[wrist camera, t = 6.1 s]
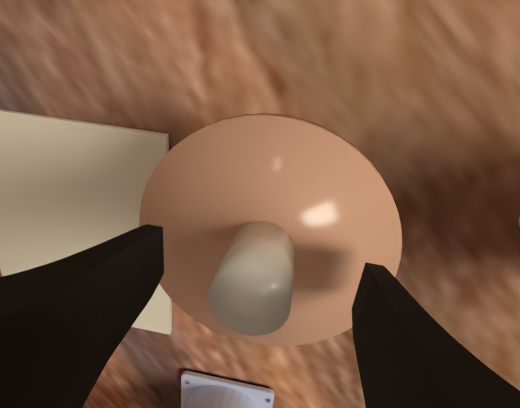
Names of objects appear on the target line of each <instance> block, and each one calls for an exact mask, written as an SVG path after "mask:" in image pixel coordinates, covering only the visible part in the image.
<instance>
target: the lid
mask: <svg viewBox="0 0 520 408" xmlns="http://www.w3.org/2000/svg"><path fill="white" fill-rule="evenodd" d="M146 224H149V225H155V226H161V227H163V247H164V274H163V276H162V278H161V280H160V283H159V284H160V285H161V287H162V288H163V290H164V291H165V292H166V293H167V295H168V296H169V297H170V298H171V299H172V300H173V301H174V302H175V303H176V304H177V305H178V306H179V307H180V308H181V309H182V310H183V311H184V312H186V313H187V314H188V315H190V316H191V317H192V318H194V319H195V320H196V321H198V322H200V323H201V324H203V325H205V326H206V327H208V328H210V329H212V330H214V331H216V332H218V333H221V334H223V335H226V336H228V337H231V338H234V339H237V340H241V341H244V342H248V343H253V344H259V345H268V346H296V345H303V344H310V343H314V342H318V341H322V340H325V339H328V338H331V337H333V336H336V335H338V334H340V333H342V332H344V331H346V330H348V329H350V328H351V327H352V305H353V302H354V299H355V296H356V292H357V289H358V286H359V282H360V279H361V276H362V272H363V269H364V266H365V262H366V263H372V264H378V265H383V266H385V267H386V268H387V269H388V270H389V271H390V272H391V274H392V275H393V276H394V277H395V276H396V274H397V270H398V267H399V263H400V259H401V251H402V228H401V223H400V218H399V214H398V210H397V207H396V205H395V202H394V200H393V197H392V195H391V193H390V191H389V189H388V187H387V186H386V184H385V182H384V180H383V179H382V177H381V175H380V174H379V172H378V171H377V170H376V168H375V167H374V166H373V165H372V163H371V162H370V161H369V159H368V158H367V157H366V156H365V155H363V154H362V153H361V152H360V151H359V150H358V149H357V148H356V147H355V146H354V145H352V144H351V143H350V142H348V141H347V140H345V139H344V138H343V137H341V136H340V135H338V134H336V133H335V132H333V131H331V130H329V129H327V128H325V127H323V126H321V125H318V124H315V123H313V122H310V121H307V120H304V119H301V118H296V117H292V116H287V115H280V114H267V113H260V114H244V115H239V116H234V117H229V118H225V119H223V120H220V121H217V122H214V123H211V124H209V125H207V126H205V127H203V128H201V129H199V130H198V131H196V132H194V133H192V134H190V135H189V136H187V137H186V138H185V139H183V140H182V141H181V142H179V143H178V144H176V145H175V146H174V147H173V148H172V149H171V150H170V151H169V152H168V153H167V154H166V155H165V156H164V157H163V158H162V160H161V161H160V162H159V164H158V165H157V166H156V168H155V169H154V171H153V173H152V175H151V176H150V178H149V180H148V182H147V184H146V187H145V191H144V194H143V197H142V201H141V207H140V215H139V227H140V226H143V225H146Z"/></svg>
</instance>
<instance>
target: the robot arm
mask: <svg viewBox="0 0 520 408" xmlns="http://www.w3.org/2000/svg"><path fill="white" fill-rule="evenodd" d="M163 274H164V247H163V227H161V226H155V225H149V224H146V225H143V226H140V227H137V228H135V229H133V230H130V231H128V232H126V233H123V234H121V235H119V236H117V237H114V238H112V239H110V240H107V241H105V242H103V243H100V244H98V245H96V246H93V247H91V248H88V249H86V250H83V251H81V252H78V253H76V254H73V255H71V256H68V257H65V258H63V259H60V260H57V261H54V262H51V263H48V264H45V265H42V266H39V267H36V268H32V269H29V270H26V271H22V272H19V273H15V274H11V275H7V276H3V277H0V408H82V407H83V405H84V403H85V401H86V399H87V397H88V395H89V394H90V392H91V390H92V388H93V386H94V385H95V383H96V381H97V379H98V377H99V376H100V374H101V372H102V370H103V369H104V367H105V365H106V363H107V362H108V360H109V358H110V357H111V355H112V354H113V352H114V351H115V349H116V348H117V346H118V345H119V343H120V342H121V341H122V339H123V338H124V336H125V335H126V333H127V332H128V331H129V329H130V328H131V326H132V325H133V323H134V322H135V321H136V319H137V318H138V316H139V315H140V314H141V312H142V311H143V309H144V308H145V306H146V305H147V303H148V302H149V300H150V299H151V297H152V296H153V294H154V292H155V290H156V288H157V287H158V285H159V283H160V280H161V278H162V276H163ZM352 328H353V339H354V345H355V350H356V356H357V362H358V367H359V372H360V378H361V383H362V388H363V394H364V399H365V405H366V408H520V391H519V390H518V389H516V388H515V387H514V386H512V385H511V384H509V383H508V382H507V381H505V380H504V379H503V378H501V377H500V376H499V375H497V374H496V373H495V372H494V371H492V370H491V369H490V368H488V367H487V366H486V365H485V364H483V363H482V362H481V361H480V360H479V359H477V358H476V357H475V356H474V355H473V354H471V353H470V352H469V351H468V350H467V349H466V348H464V347H463V346H462V345H461V344H460V343H459V342H457V341H456V340H455V339H454V338H453V337H452V336H451V335H450V334H449V333H448V332H447V331H446V330H444V329H443V328H442V327H441V326H440V325H439V324H438V323H437V322H436V321H435V320H434V319H433V318H432V317H431V316H430V315H429V314H428V313H427V312H426V311H425V310H424V309H423V308H422V307H421V306H420V304H419V303H418V302H417V301H416V300H415V299H414V298H413V297H412V296H411V295H410V294H409V293H408V291H407V290H406V289H405V288H404V287H403V286H402V285H401V284H400V283H399V281H398V280H397V279H396V278H395V277H394V276H393V275H392V274H391V272H390V271H389V270H388V269H387V268H386V267H385V266H383V265H378V264H372V263H366V262H365V266H364V269H363V272H362V276H361V279H360V282H359V286H358V289H357V292H356V296H355V299H354V302H353V305H352ZM274 394H275V393H274V391H273V390H272V389H269V388H264V387H260V386H255V385H251V384H246V383H241V382H237V381H232V380H228V379H223V378H219V377H214V376H209V375H205V374H200V373H196V372H191V371H184V372H183V373H182V375H181V408H272V406H273V401H274Z"/></svg>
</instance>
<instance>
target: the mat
mask: <svg viewBox="0 0 520 408" xmlns="http://www.w3.org/2000/svg"><path fill="white" fill-rule="evenodd" d="M168 152H169V134H167V133H160V132H153V131H146V130H140V129H133V128H126V127H119V126H112V125H105V124H98V123H92V122H85V121H78V120H71V119H64V118H57V117H50V116H44V115H37V114H30V113H23V112H16V111H9V110H3V109H0V270H1V273H2V277H3V276H7V275H11V274H15V273H19V272H22V271H26V270H29V269H32V268H36V267H39V266H42V265H45V264H48V263H51V262H54V261H57V260H60V259H63V258H65V257H68V256H71V255H73V254H76V253H78V252H81V251H83V250H86V249H88V248H91V247H93V246H96V245H98V244H100V243H103V242H105V241H107V240H110V239H112V238H114V237H117V236H119V235H121V234H123V233H126V232H128V231H130V230H133V229H135V228H137V227H139V215H140V207H141V201H142V197H143V194H144V191H145V187H146V184H147V182H148V180H149V178H150V176H151V175H152V173H153V171H154V169H155V168H156V166H157V165H158V164H159V162H160V161H161V160H162V158H163V157H164V156H165V155H166V154H167V153H168ZM131 327H135V328H140V329H145V330H150V331H154V332H159V333H164V334H169V335H170V333H171V331H172V313H171V298H170V297H169V296H168V295H167V293H166V292H165V291H164V290H163V288H162V287H161V285H160V284H159V285H158V287H157V288H156V290H155V292H154V294H153V296H152V297H151V299H150V300H149V302H148V303H147V305H146V306H145V308H144V309H143V311H142V312H141V314H140V315H139V316H138V318H137V319H136V321H135V322H134V323H133V325H132V326H131Z"/></svg>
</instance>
